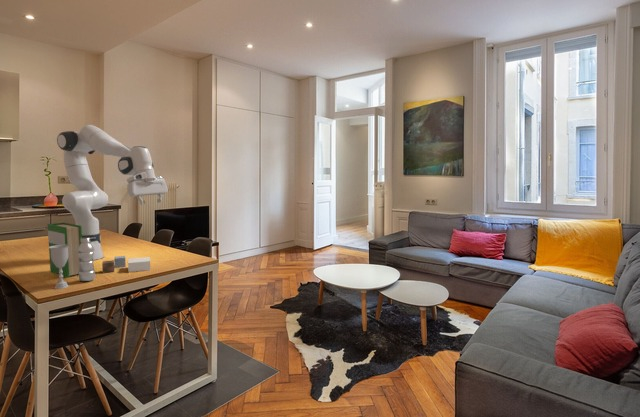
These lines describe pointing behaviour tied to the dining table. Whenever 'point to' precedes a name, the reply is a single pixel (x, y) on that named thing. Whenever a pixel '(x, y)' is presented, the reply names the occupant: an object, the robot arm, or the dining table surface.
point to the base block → (139, 264)
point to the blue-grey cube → (119, 261)
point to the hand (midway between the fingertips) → (151, 203)
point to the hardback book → (65, 236)
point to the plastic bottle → (86, 260)
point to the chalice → (60, 262)
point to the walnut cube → (108, 266)
